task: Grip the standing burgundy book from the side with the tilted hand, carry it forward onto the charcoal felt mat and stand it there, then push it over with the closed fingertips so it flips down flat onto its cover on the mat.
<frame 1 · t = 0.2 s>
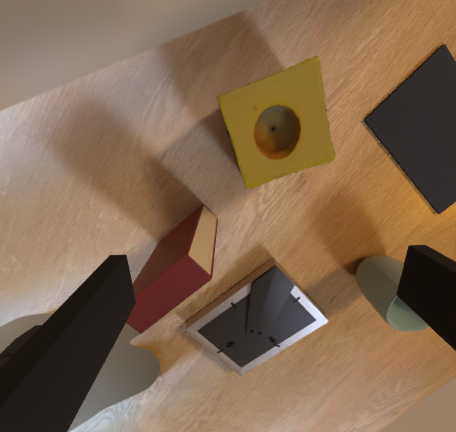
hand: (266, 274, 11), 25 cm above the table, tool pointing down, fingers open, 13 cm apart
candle: (264, 129, 32), on the table
picture frame: (254, 316, 43), on the table
cup: (370, 267, 40), on the table
book: (188, 230, 37), on the table
mat: (439, 139, 32), on the table
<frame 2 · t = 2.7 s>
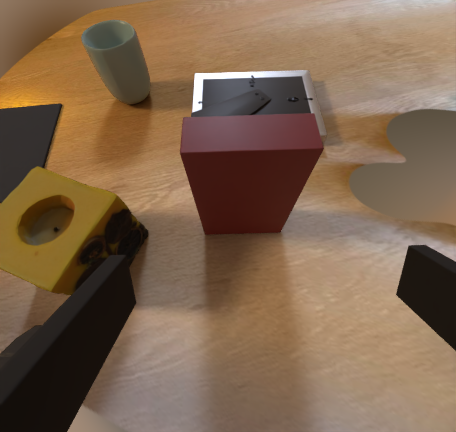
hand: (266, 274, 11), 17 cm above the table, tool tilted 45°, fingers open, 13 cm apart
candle: (98, 253, 30), on the table
picture frame: (253, 113, 40), on the table
cup: (134, 97, 42), on the table
book: (242, 221, 31), on the table
mat: (12, 150, 37), on the table
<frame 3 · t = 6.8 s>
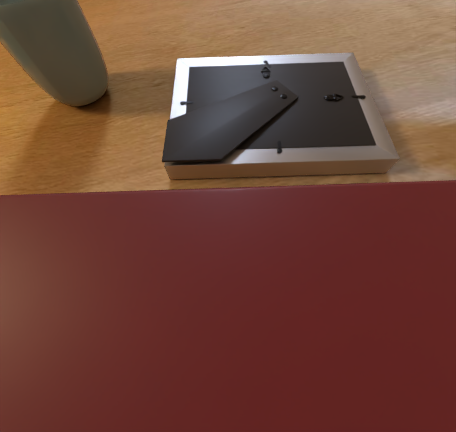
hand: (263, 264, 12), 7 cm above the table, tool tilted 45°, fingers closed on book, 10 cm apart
picture frame: (269, 119, 26), on the table
cup: (86, 95, 28), on the table
book: (256, 327, 16), on the table, touching gripper
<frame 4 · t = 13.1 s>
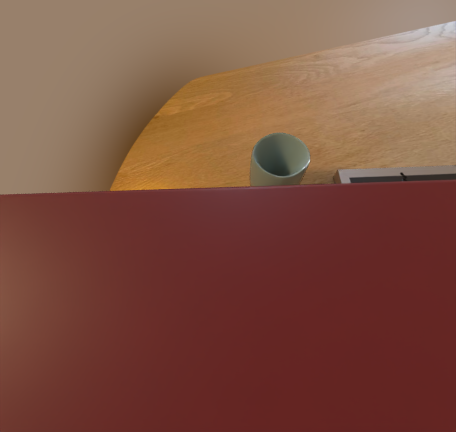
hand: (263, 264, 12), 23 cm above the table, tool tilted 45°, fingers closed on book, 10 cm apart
picture frame: (406, 214, 37), on the table
cup: (270, 193, 40), on the table
book: (256, 327, 16), point 16 cm above the table, touching gripper
when the fingers open (7 cm above the table, at t = 19.6 s): book stays where it is, resting on mat.
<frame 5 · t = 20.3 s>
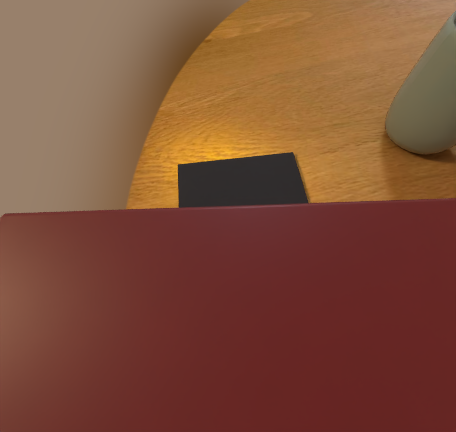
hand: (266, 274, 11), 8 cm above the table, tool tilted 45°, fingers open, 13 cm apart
cup: (409, 138, 25), on the table
book: (259, 327, 17), resting on mat
mat: (251, 252, 20), on the table
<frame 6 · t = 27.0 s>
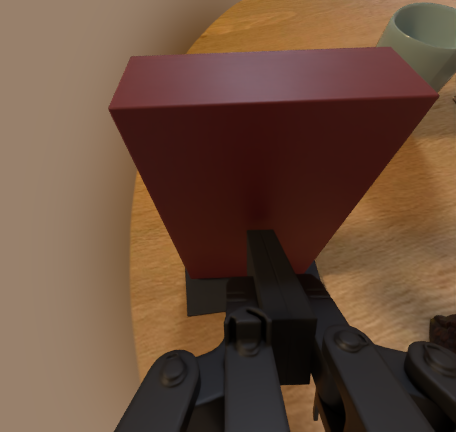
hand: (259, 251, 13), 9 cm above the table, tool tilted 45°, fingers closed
cup: (373, 117, 30), on the table
book: (245, 258, 21), point 1 cm above the table, tilted 8°, touching gripper, mat
mat: (239, 206, 24), on the table
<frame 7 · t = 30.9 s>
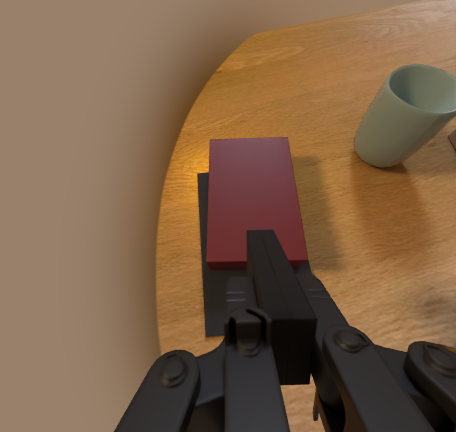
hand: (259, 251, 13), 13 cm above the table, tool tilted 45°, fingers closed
cup: (373, 154, 33), on the table
book: (255, 265, 24), point 2 cm above the table, tilted 90°, touching mat
mat: (250, 237, 27), on the table
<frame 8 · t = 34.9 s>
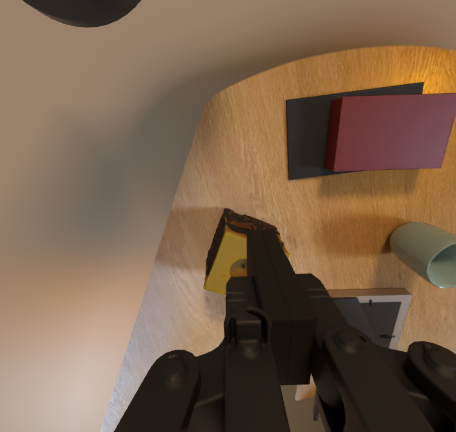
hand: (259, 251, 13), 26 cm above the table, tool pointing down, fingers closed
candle: (240, 240, 42), on the table
picture frame: (356, 328, 49), on the table
cup: (402, 236, 42), on the table
book: (332, 136, 34), point 2 cm above the table, tilted 90°, touching mat
mat: (351, 134, 36), on the table
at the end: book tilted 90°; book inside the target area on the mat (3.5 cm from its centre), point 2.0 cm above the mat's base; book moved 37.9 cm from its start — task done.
